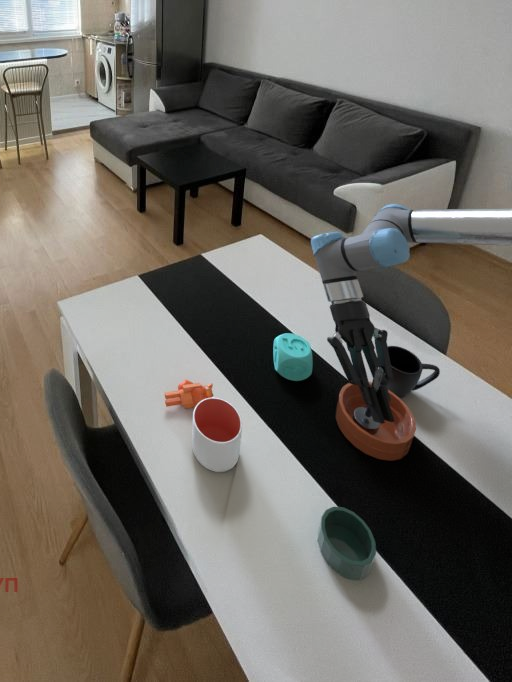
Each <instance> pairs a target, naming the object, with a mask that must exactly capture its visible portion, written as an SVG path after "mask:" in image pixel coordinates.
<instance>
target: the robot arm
mask: <svg viewBox="0 0 512 682" xmlns="http://www.w3.org/2000/svg"><path fill="white" fill-rule="evenodd" d="M409 243H416V244H417V243H419V244H442V245H443V244H445V245H472V246H494V247H496V246H498V247H512V208H511V207H510V208H507V207H506V208H452V209H451V208H450V209H449V208H448V209H445V208H444V209H409V208H408V207H406V206H404V205H401V204H399V203H390V204H387V205H385V206H383V207H382V208H380V209H379V210H378V211H377V212H376V213H375V215H374V217H373V218H372V220H371V221H370V223H369V224H368V225H367V227H365V229H364V230H363V232H362V233H360V234H357V235H354V236H350V237H345V236H344V234H343V233H342V232H340V231H331V232H325V233H320V234H317V235H314V236H313V237H311V239H310V245H311V249H312V253H313V254H312V255H313V258H314V260H315V263H316V266H317V270H318V273H319V275H320V276H319V277H320V279H321V282H322V283H321V284H322V286H323V289H324V293H325V296H326V299H327V302H329V303H331V304H330V305H329V306H328V307H329V310H330V314H331V317H332V320H333V322H334V325H335V327H334V331H335V332H334V333H333V334H332V335H331V336H328V337H327V338H326V339H327V340H326V341H327V342H328V344H329V345H330V346H331V347H332V349H333V351H334V352H335V353H334V354H335V355H336V357H337V359H338V362H339V364H340V366H341V368H342V370H343V373H344V375H345V378H346V379H347V381H348V382H347V383H350V384H354V385H357V386H359V388H360V390H361V393H362V397H363V400H364V402H365V404H368V405H369V408H370V411H371V414H372V418H373V421H375V422H378V423H381V424H383V423H385V421H384V420H386V421H389V422H395V421H394V418H393V415H392V412H391V409H390V406H389V403H388V402H391V398H390V396H389V392H388V389H387V386H386V385H388V384H389V380H393V373H392V368H391V363H390V357H389V352H388V347H387V346H388V343H387V342H388V336H389V335H388V331H387V330H386V329H380V328H377V327H376V326H375V324H373V322H372V321H371V317H370V316H371V315H370V312H369V309H368V306H367V303H366V301H365V300H363V298H364V293H363V290H362V287H361V285H360V281H359V279H358V275H357V272H361V271H367V270H372V269H379V268H385V267H386V268H387V267H388V268H389V267H394V266H396V265H399V264H404V263H406V262H407V261H408V260H409V259H410V256H411V254H410V251H411V249H410V245H409ZM373 339H374V341H373ZM343 342H344V343H345V344H346V348H345V345H344V344H343ZM347 351H348V352H349V354H348V352H347ZM362 354H363V355H364V358H363V355H362ZM364 359H365V360H366V363H367V367H368V369H369V372H370V374H371V377H372V378H373V377H374V373H375V369H376V367H381V368H382V369H383V375H382V379H381V383H380V387H379V390H378V394H377V396H376V393H375V389H374V387H371V386H369V382H370V381H369V378H368V374H367V370H366V367H365V366H366V365H365V362H364Z"/></svg>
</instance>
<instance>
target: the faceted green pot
mask: <svg viewBox="0 0 512 682" xmlns="http://www.w3.org/2000/svg"><path fill="white" fill-rule="evenodd" d="M319 522H320V523H319V526H318V529H317V530H318V531H317V544H318V547H319V551H320V553H321V556H322V557H323V559H324V560H325V562H326V563H327V564H328V566H329V567H330V568H331V569H332V570H333V571H334V572H335V573H337V574H338V575H340V576H342V577H343V578H345V579H348V580H352V581H360V580H363V579H364V578H366V577H368V575H369V574H370V571H371V569H372V567H373V564H374V561H375V557H376V555H377V544H376V543H377V542H376V540H375V538H374V535H373V533H372V530H371V528H370V527H369V526H368V524H367V523H366V522H365V521H364V519H363V518H361V517H360V516H359V515H358V514H357V513H355V512H354V511H352V510H350V509H348V508H346V507H343V506H331V507H329V508H327V509H325V511H324V512H323V514H322V516H321V519H320V521H319Z"/></svg>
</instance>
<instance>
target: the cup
mask: <svg viewBox="0 0 512 682" xmlns="http://www.w3.org/2000/svg"><path fill="white" fill-rule="evenodd" d="M191 429H192V430H191V433H192V434H191V448H192V451H193V455H194V457H195V458H196V460H197V462H199V464H200V465H201V466H203V467H204V468H206V469H207V470H209V471H212V472H216V473H225V472H227V471H231V469H233V468H234V467H235V466H236V464H237V462H238V460H239V459H240V458H239V457H240V451H241V450H240V449H241V443H242V441H241V440H242V431H243V422H242V418H241V415H240V412H239V411H238V409H236V407H235V406H234V405H233V404H232V403H230V402H228V401H227V400H225V399H224V398H223V399H222V398H219V397H212V398H207V399H204V400H202V401H200V402H199V403H198V404H197V405H196V407H194V408H193V412H192V428H191Z"/></svg>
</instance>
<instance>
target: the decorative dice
mask: <svg viewBox="0 0 512 682" xmlns="http://www.w3.org/2000/svg"><path fill="white" fill-rule="evenodd" d="M272 346H273V347H272V350H273V351H272V355H273V357H272V358H273V364H274V365H273V366H274V370H275V371H276V372H277V374H279V375H280V376H281V377H283V378H285V379H286V380H289V381H294V382H299V381H300V382H301V381H304V380H306V379H308V378H309V377H310V376H312V374H313V365H314V363H313V360H314V359H313V352H312V351H313V350H312V346H311V344H310V343H309V342H308V340H307V339H305V338H304V337H302V336H300V335H298V334H296V333H292V332H291V333H290V332H287V333H282V334H280V335H278V336H276V337H275V338H274V340H273V345H272Z"/></svg>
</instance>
